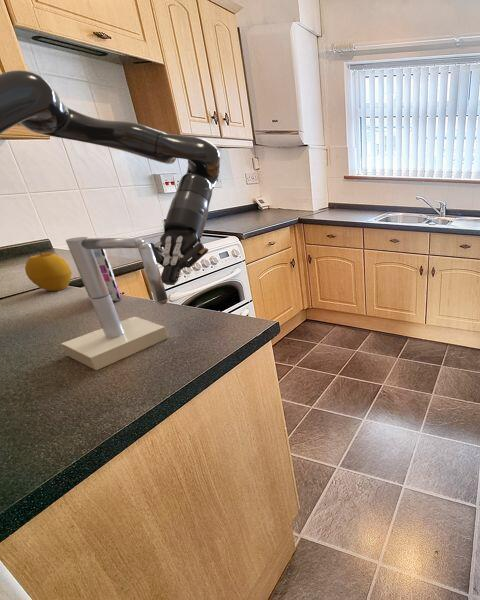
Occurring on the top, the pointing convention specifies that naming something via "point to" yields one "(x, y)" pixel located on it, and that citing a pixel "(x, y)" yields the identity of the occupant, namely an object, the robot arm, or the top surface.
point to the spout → (92, 272)
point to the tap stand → (113, 337)
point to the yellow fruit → (48, 271)
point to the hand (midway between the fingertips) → (167, 283)
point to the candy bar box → (107, 273)
